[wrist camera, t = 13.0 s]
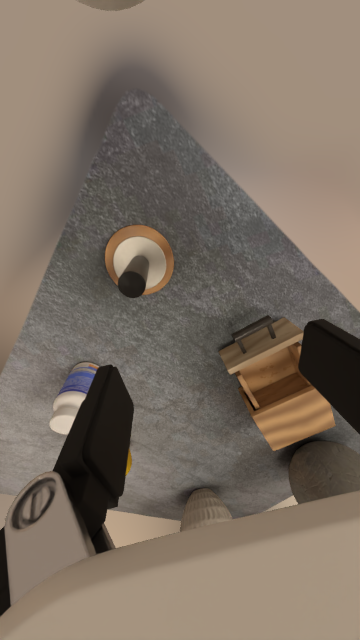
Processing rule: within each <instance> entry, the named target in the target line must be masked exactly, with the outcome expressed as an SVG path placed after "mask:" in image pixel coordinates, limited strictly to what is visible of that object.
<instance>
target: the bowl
mask: <svg viewBox="0 0 360 640" xmlns="http://www.w3.org/2000/svg"><path fill="white" fill-rule="evenodd" d="M289 481H290V486H291V490H292V493H293V495H294V497H295V499H296V501H297V502H298V504H302V503H306V502H311V501H315V500H319V499H324V498H328V497H332V496H337V495H341V494H346V493H350V492H354V491H359V490H360V455H359V454H358V453H357V452H355V451H354V450H352V449H351V448H349V447H347V446H344V445H342V444H339V443H335V442H330V441H314V442H310V443H307V444H305V445H303V446H302V447H300V448H298V449H297V451H296V452H295V454H294V456H293V458H292V460H291V462H290V465H289Z"/></svg>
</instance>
